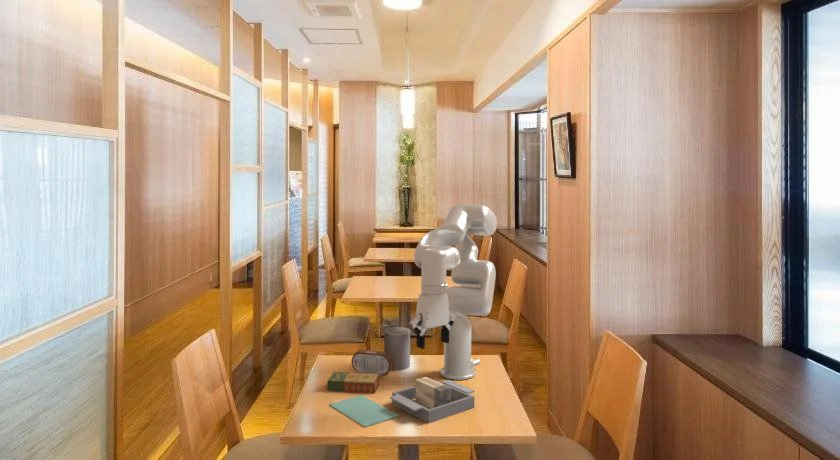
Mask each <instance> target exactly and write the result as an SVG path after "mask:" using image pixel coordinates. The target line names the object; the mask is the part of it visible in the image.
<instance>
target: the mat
mask: <svg viewBox="0 0 840 460" xmlns="http://www.w3.org/2000/svg"><path fill="white" fill-rule="evenodd" d="M328 405H329V407H332V408H333V409H334V410H336V411H338V412H339V413H341V414H343V415H344V416H345V417H347V418H349V419H350V420H353V422H355V421H356V422H355V423H358V425H360V426H362V427H363V426H364V427H363V428H367V427H370V426H373V425H376V424H380V423H383V422H386V421H389V420H392V419H396V418H398V417H400V415H399V414H398V413H395V412H394V411H392V410H390V409H388V408H386V407H385V406H383V405H382V404H379V403H377V402H376V401H374V400H373V399H370V398H369V397H366V396H365V395H362V394H360V395H357V396H352V397H350V398H347V399H346V398H345V399H342V400H339V401H335V402H332V403H329V404H328Z"/></svg>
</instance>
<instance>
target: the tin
mask: <svg viewBox="0 0 840 460" xmlns="http://www.w3.org/2000/svg"><path fill="white" fill-rule="evenodd" d="M351 366H352V368H353V370H354V371H355V373H376V374H379V377H380V376H381V377H382V376H383V377H384V376H386V375H387V374H389V373H390V372H391V371H392V370H391V369H392V367H393V360H392V358H391V356H390V355H389V354H387V353H386V352H384V351H382V350H381V351H379V350H371V349H359V350H357V351H356V352H355V353H354V354H353V356H352V357H351Z"/></svg>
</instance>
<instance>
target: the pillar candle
mask: <svg viewBox="0 0 840 460" xmlns="http://www.w3.org/2000/svg"><path fill="white" fill-rule="evenodd" d="M411 330H412V329H410V328H407V327H402V326H393V327H388V328H386V329H384V332H383V333H384V334H383V335H384V337H383V342H384V343H383V347H384V348H383V352H386V353H387V354H389V355H390V356H391V358H392V360H393V367H392V369H391V371H395V370H397V371H404V370H406V369H409V368H410V367H411Z"/></svg>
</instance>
